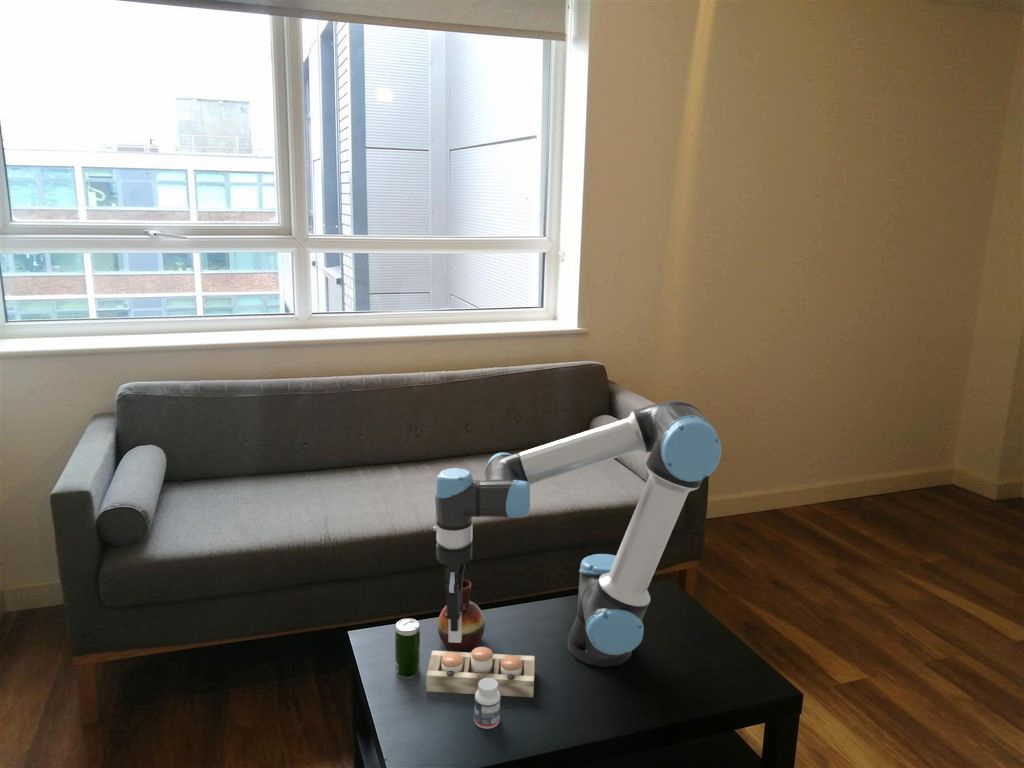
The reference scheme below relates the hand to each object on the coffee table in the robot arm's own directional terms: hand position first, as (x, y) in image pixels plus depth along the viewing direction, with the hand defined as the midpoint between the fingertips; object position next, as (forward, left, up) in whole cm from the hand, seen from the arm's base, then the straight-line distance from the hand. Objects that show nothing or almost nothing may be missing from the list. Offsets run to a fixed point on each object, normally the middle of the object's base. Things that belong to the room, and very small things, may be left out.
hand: (455, 640), depth 173 cm
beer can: (+11, -2, -10) cm, 15 cm away
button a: (-12, 0, -9) cm, 15 cm away
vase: (0, -14, -10) cm, 18 cm away
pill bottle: (-8, +13, -10) cm, 18 cm away
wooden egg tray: (-6, 0, -10) cm, 12 cm away
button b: (-6, 0, -7) cm, 9 cm away
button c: (+1, 0, -9) cm, 9 cm away
